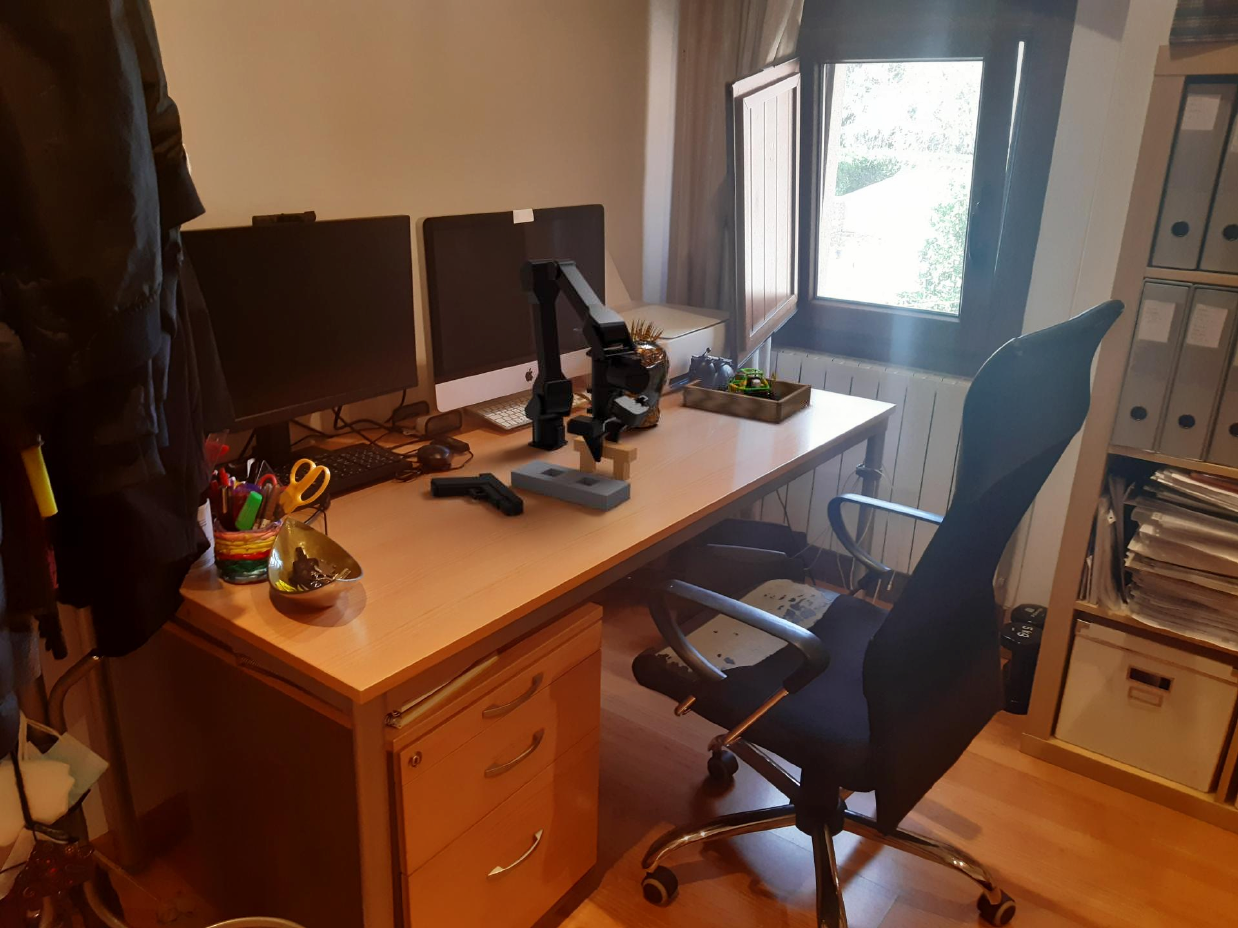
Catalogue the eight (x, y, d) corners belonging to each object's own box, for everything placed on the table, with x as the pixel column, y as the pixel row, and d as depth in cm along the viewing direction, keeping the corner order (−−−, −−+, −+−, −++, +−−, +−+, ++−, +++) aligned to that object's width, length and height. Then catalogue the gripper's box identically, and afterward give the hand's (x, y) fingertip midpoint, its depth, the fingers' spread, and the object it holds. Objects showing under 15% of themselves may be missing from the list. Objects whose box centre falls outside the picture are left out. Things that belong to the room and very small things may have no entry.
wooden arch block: (573, 469, 185) (573, 438, 183) (582, 465, 187) (582, 435, 185) (628, 482, 178) (628, 451, 176) (636, 478, 181) (636, 447, 179)
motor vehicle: (755, 393, 241) (758, 354, 238) (784, 414, 224) (788, 372, 220) (714, 395, 239) (716, 356, 235) (739, 417, 221) (742, 374, 217)
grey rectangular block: (511, 485, 176) (510, 471, 175) (536, 473, 182) (536, 459, 181) (606, 511, 165) (607, 496, 164) (630, 497, 171) (630, 482, 170)
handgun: (460, 513, 156) (524, 501, 162) (425, 477, 172) (485, 468, 178) (461, 528, 157) (525, 516, 163) (426, 491, 173) (485, 481, 179)
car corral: (683, 404, 231) (683, 385, 229) (718, 388, 247) (719, 370, 245) (778, 423, 218) (780, 402, 216) (809, 404, 234) (811, 385, 232)
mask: (596, 432, 208) (598, 323, 200) (631, 408, 227) (633, 308, 218) (647, 439, 204) (650, 329, 195) (678, 415, 222) (682, 313, 214)
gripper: (614, 400, 165) (613, 480, 170) (666, 379, 180) (663, 453, 185) (564, 390, 171) (564, 468, 176) (618, 370, 185) (616, 443, 191)
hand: (604, 458), depth 182 cm, fingers open, 5 cm apart
